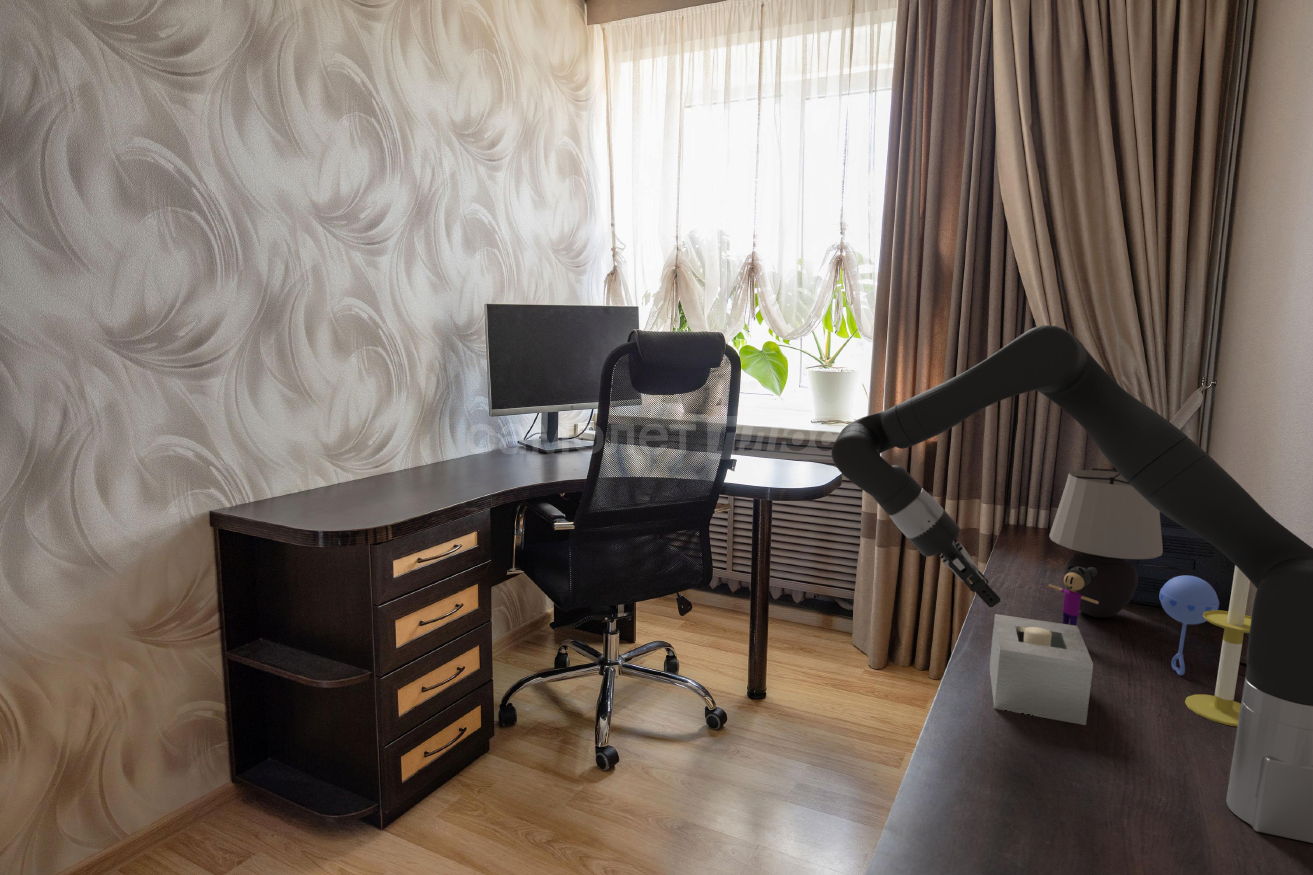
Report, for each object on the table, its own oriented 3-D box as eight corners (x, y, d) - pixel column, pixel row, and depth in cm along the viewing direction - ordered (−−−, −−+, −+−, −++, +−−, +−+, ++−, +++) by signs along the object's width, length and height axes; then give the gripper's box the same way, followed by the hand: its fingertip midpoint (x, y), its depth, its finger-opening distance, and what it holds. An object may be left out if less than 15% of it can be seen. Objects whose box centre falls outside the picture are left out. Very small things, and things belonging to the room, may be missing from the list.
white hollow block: (1085, 725, 119) (1093, 664, 118) (994, 708, 124) (1000, 649, 122) (1070, 680, 134) (1077, 625, 133) (989, 667, 139) (994, 613, 137)
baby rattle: (1217, 687, 133) (1232, 587, 130) (1161, 681, 135) (1175, 582, 132) (1194, 665, 142) (1207, 571, 139) (1141, 660, 143) (1154, 566, 140)
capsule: (1048, 696, 127) (1053, 637, 125) (1021, 692, 128) (1025, 634, 126) (1045, 685, 130) (1050, 628, 129) (1019, 681, 132) (1023, 625, 130)
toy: (1037, 631, 155) (1045, 559, 153) (1055, 627, 158) (1063, 556, 155) (1086, 652, 146) (1095, 575, 144) (1104, 647, 149) (1114, 572, 146)
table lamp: (1171, 638, 153) (1192, 490, 149) (1059, 628, 157) (1075, 483, 152) (1128, 601, 174) (1145, 470, 169) (1029, 593, 177) (1043, 464, 172)
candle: (1205, 724, 121) (1235, 521, 116) (1172, 693, 131) (1198, 505, 125) (1276, 730, 120) (1309, 525, 114) (1237, 698, 129) (1266, 509, 124)
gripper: (949, 518, 121) (1020, 595, 120) (934, 497, 134) (998, 566, 134) (911, 548, 122) (980, 624, 122) (900, 524, 136) (962, 593, 136)
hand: (989, 594), depth 128 cm, fingers open, 8 cm apart
